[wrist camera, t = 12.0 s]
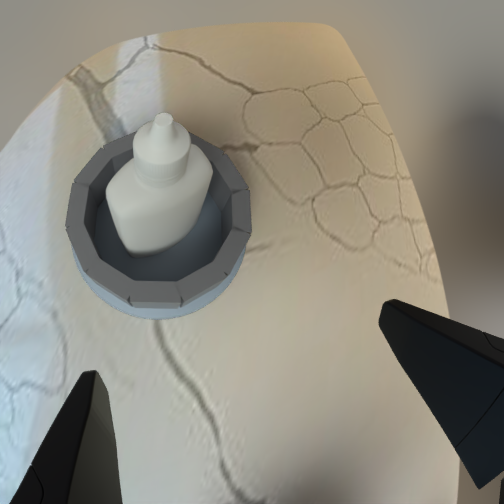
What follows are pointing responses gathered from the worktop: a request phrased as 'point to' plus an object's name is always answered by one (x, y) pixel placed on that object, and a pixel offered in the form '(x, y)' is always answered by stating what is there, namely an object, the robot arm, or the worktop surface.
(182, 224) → the eye dropper bottle
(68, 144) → the worktop surface
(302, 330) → the worktop surface
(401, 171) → the worktop surface
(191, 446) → the worktop surface
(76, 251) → the grey segmented round bowl
